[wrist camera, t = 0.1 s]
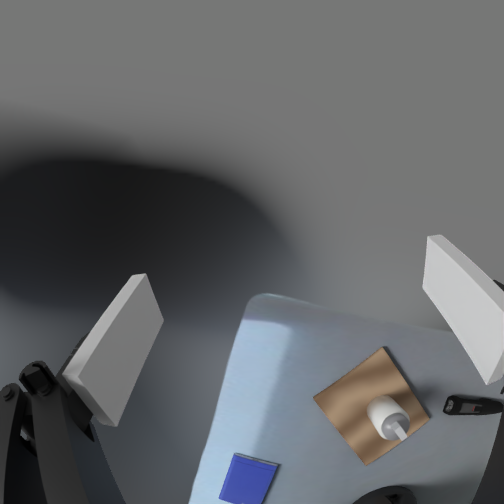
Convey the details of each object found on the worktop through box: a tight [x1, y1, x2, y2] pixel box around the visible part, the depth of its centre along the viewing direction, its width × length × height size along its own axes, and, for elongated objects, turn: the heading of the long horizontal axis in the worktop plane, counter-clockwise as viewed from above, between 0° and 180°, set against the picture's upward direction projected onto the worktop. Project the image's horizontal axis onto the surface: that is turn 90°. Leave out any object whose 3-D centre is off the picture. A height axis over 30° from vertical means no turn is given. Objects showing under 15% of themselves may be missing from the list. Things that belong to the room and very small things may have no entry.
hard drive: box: [219, 453, 278, 504], centre depth 42 cm, size 2×8×12 cm
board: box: [313, 347, 430, 466], centre depth 41 cm, size 18×14×1 cm
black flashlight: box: [443, 396, 503, 415], centre depth 37 cm, size 4×16×3 cm, turn 74°
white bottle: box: [367, 395, 410, 441], centre depth 35 cm, size 5×5×12 cm
